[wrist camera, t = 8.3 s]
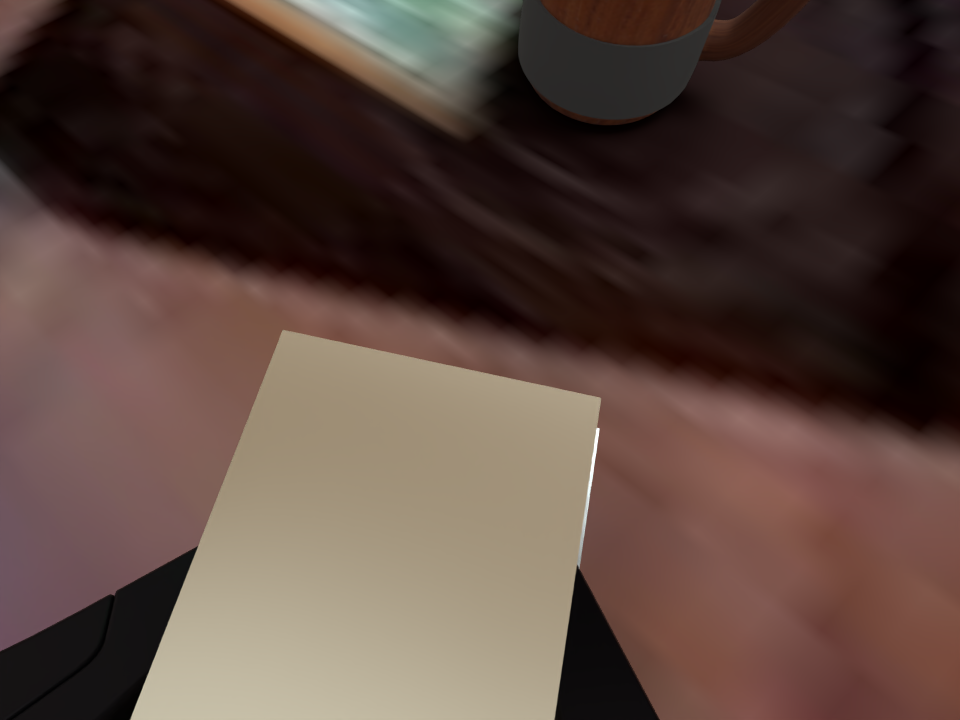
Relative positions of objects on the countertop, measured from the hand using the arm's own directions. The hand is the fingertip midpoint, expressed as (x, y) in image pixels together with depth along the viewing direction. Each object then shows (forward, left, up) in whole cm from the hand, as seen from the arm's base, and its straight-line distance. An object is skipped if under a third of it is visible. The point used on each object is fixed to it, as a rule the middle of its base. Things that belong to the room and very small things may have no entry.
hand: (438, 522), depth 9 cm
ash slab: (-1, -1, -7) cm, 7 cm away
